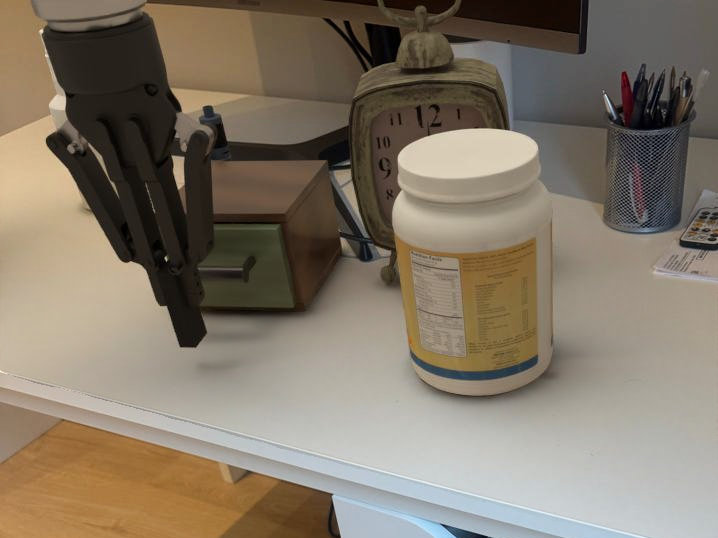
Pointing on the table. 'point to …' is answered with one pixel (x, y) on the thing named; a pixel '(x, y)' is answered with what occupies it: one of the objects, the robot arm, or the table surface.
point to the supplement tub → (475, 260)
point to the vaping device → (221, 144)
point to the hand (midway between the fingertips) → (193, 339)
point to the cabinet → (282, 215)
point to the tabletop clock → (414, 115)
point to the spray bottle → (60, 116)
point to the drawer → (247, 267)
